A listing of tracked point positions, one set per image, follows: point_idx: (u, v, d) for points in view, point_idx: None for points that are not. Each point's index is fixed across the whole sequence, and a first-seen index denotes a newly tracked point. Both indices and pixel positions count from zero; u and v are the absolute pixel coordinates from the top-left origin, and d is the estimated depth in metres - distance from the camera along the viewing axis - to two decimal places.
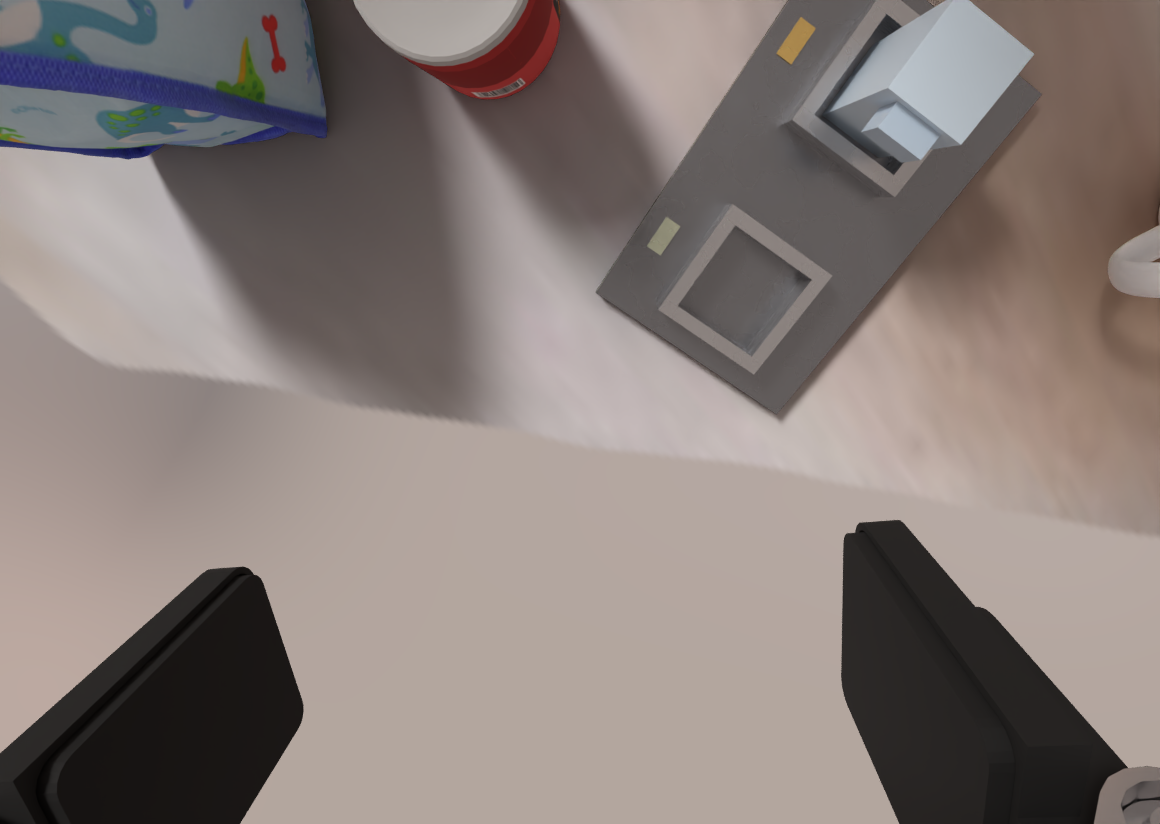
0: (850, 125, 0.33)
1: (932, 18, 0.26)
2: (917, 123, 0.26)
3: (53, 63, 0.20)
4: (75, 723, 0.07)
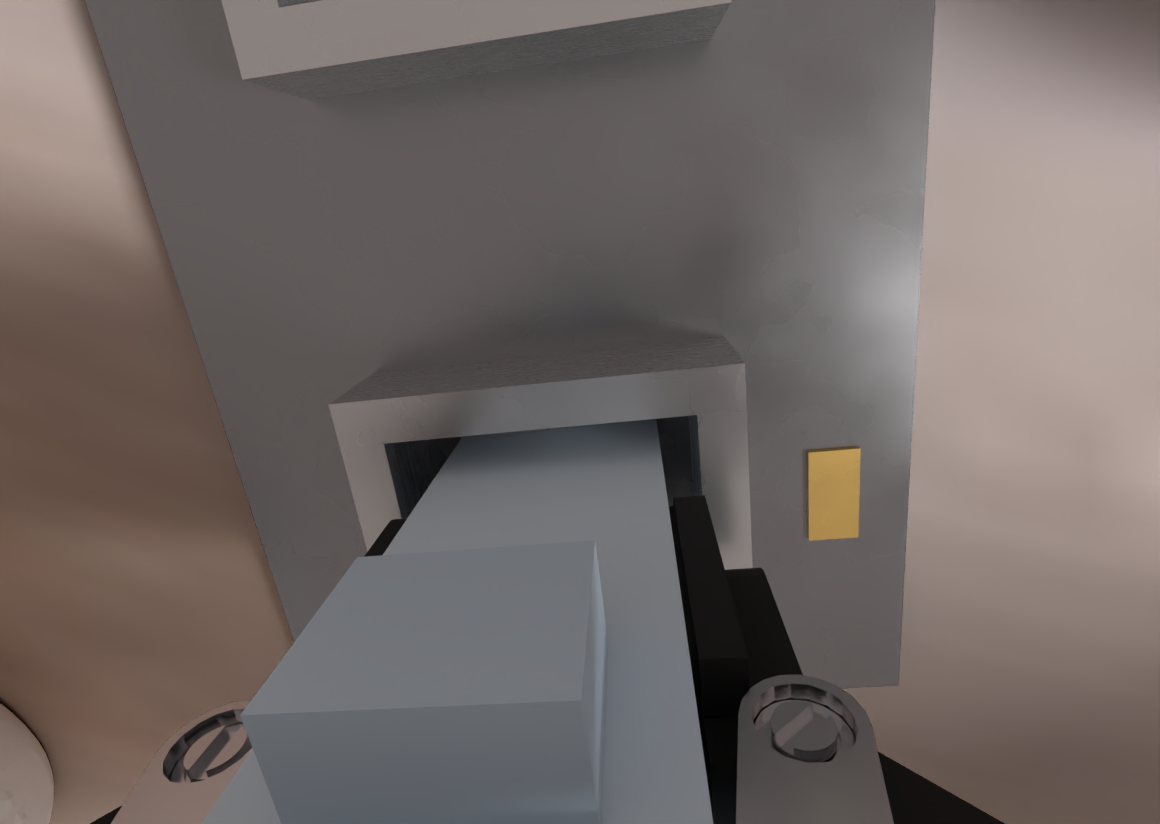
0: (589, 458, 0.11)
1: None
2: (424, 815, 0.05)
3: None
4: None
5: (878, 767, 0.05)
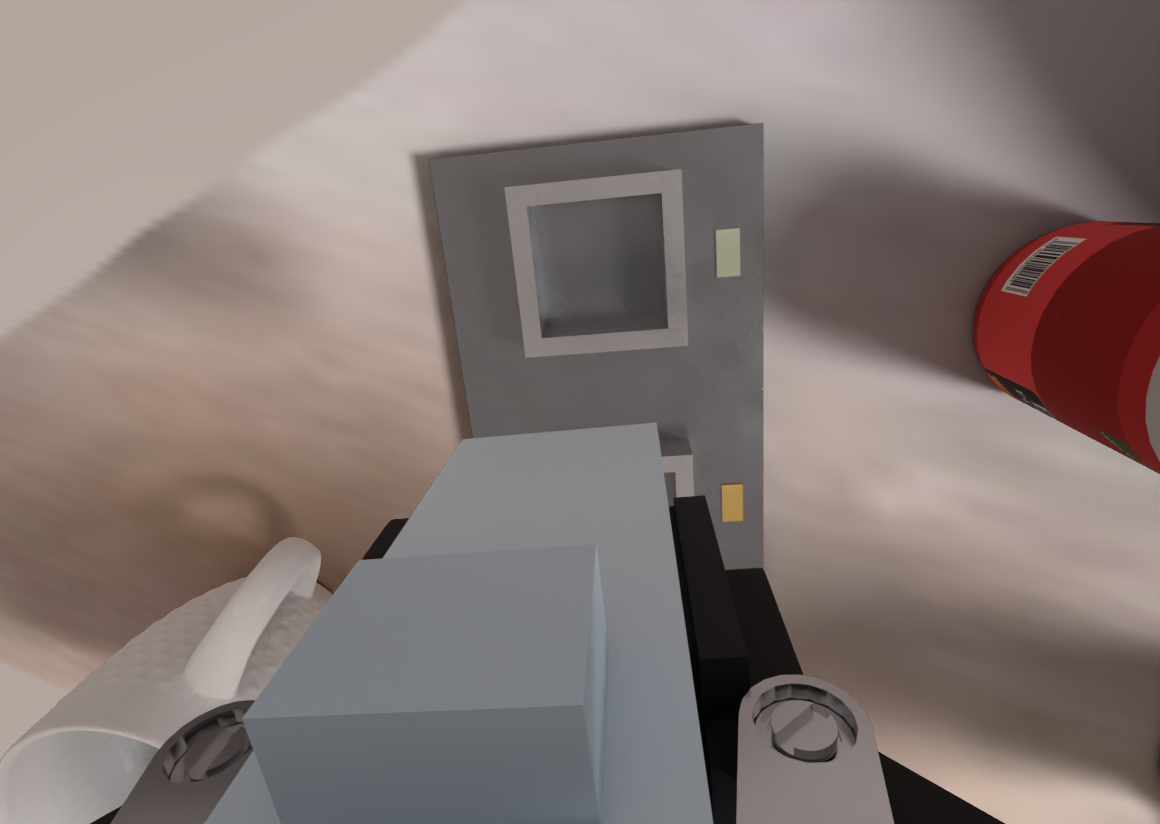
0: (589, 461, 0.11)
1: None
2: (425, 819, 0.05)
3: None
4: None
5: (878, 767, 0.05)
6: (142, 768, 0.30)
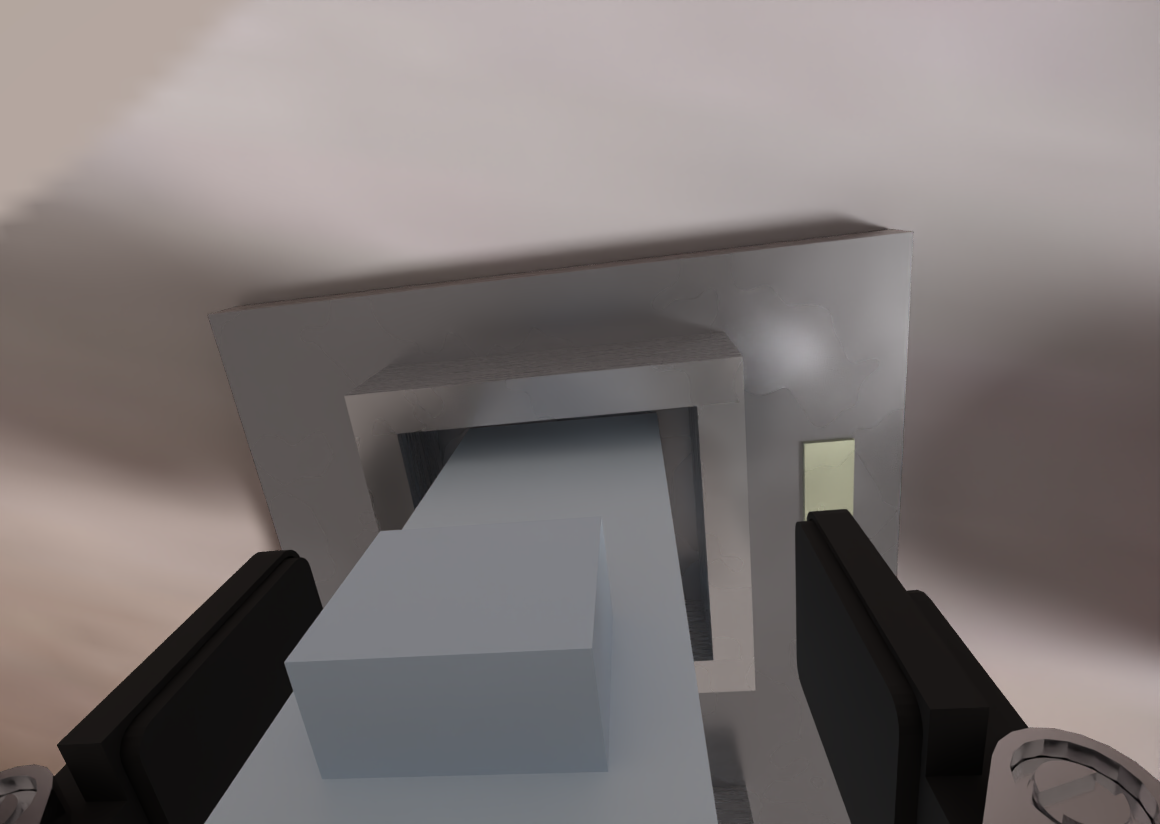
0: (592, 448, 0.11)
1: None
2: (447, 756, 0.05)
3: None
4: (152, 691, 0.07)
5: None
6: None
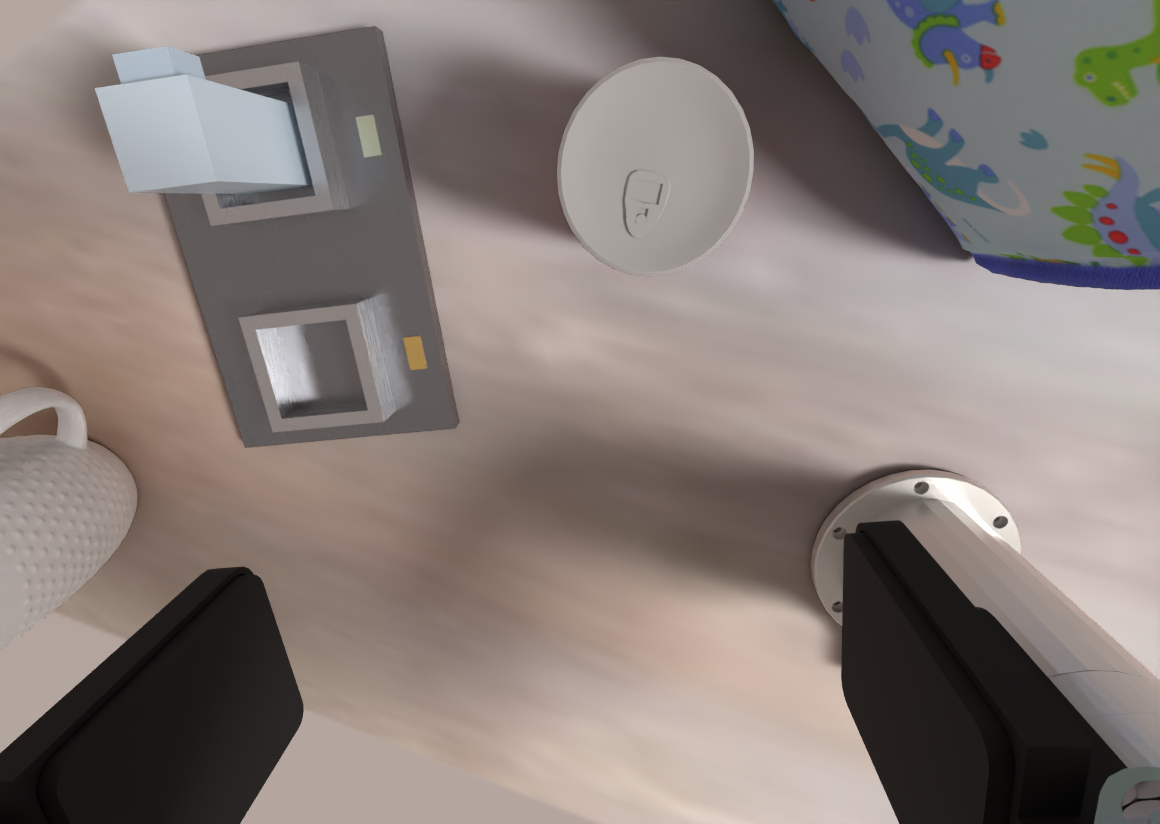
0: None
1: (226, 162, 0.26)
2: (145, 78, 0.25)
3: None
4: (75, 722, 0.07)
5: None
6: None
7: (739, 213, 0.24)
